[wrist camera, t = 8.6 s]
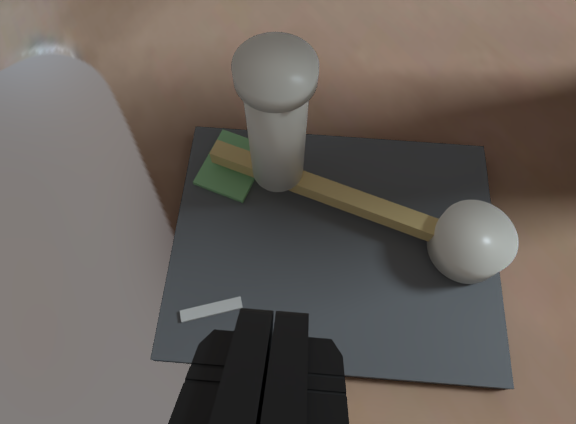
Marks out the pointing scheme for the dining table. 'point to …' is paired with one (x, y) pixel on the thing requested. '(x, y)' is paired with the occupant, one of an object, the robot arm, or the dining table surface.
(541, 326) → the dining table surface
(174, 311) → the dark grey base plate
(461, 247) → the domed post with rod
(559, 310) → the dining table surface
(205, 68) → the dining table surface
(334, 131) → the dining table surface
